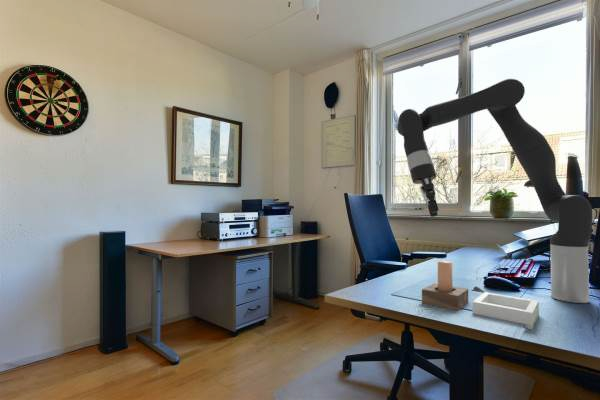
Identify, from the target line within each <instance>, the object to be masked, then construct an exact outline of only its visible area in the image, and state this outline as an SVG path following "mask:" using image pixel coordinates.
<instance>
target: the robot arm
mask: <svg viewBox="0 0 600 400" xmlns="http://www.w3.org/2000/svg"><path fill="white" fill-rule="evenodd" d="M525 90H526V88H525V86H524V84H523V82H521V81H520V80H518V79H516V78H506V79H503V80H501V81H500V80H499V82H497V83H494V84H493V85H491V86H488V87H486V88H484V89H482V90H478V91H477V92H474V93H470V94H468V95H464V96H461V97H458V98H454V99H450V100H447V101H443V102H440V103H437V104H434V105H430V106H427V107H426V108H425V109H424V110H423V111H422V112H421V113H419V112H418V111H417V110H415V109H414V108H413V109H412V108H407V109H405V110H402V112H401V113H400V115H399V116H398V120H397V124H396V125H397V126H396V129H397V130H396V131H397V133H398V134H399V135H400V136H402V137H403V150H404V154H405V156H406V159H407V160H406V161H407V165H408V166H407V167H408V170H409V173H410V178H411V180H412V181H411V182H412V183H413V184H414V185H420V193H421V194H422V197H423V200H424V202H425V205H426V206H427V208H428V212H429V215H430V217H431V218H434V217H437V216H438V215H439V214H438V212H439V207H438V203H437V200H436V198H437V195H436V189H435V185H434V183H432V181H434V180H435V179H437V172H436V169H435V165H434V163H433V159H432V156H431V154H430V152H429V148H428V145H427V142H426V140H425V135H424V133H425V131H427V130H429V129H432V128H433V127H437V126H441V125H445V124H448V123H451V122H453V121H454V122H456V120H460V119H462V118H465V117H468V116H470V115H472V114H474V113H478V112H481V111H485V110H487V111H488V112H489V115H491V117H492V118H493V119H494V120H495V122H496V123H497V125H498V126H499V128H500V129H501V131H502V132H503V135H504V137H505V138H506V140H507V143H509V145H510V147H511V149H512V150H513V153H514V155H515V157H516V158H517V160H518V163H519V164H520V166H521V167H522V168H523V170H524V172H525V174H526V176H527V177H528V180H529V181H530V183H531V185H532V187H533V189H534V191H535V192H536V195H537V198H538V199H539V201H540V205H541V207H542V210H543V212H544V214H545V215H546V217H547V218H548V219H549V220H550V221H552V222H553V223H557V224H558V225H557V226H558V227H557V231H556V232H555V233H554V234H551V235H550V239H549V241H550V243H549V245H550V247H549V249H550V250H549V251H550V297H551V298H553V299H556V300H559V301H563V302H568V303H573V304H574V303H576V304H587V303H589V302H590V285H589V284H590V281H589V280H590V278H589V277H590V276H589V274H590V273H589V271H590V270H589V267H590V266H589V241H590V239H591V237H592V231H593V207H592V205H591V203H590V201H589V200H588V198H586V197H584V196H582V195H578V194H572V195H571V194H566V193H565V191H564V189H563V188H562V186H561V185H560V182H559V181H558V177H557V172H556V171H557V170H556V169H557V167H556V166H557V163H556V156H555V152H554V151H553V149H552V147H551V145H550V144H549V142H548V140H547V139H546V138H545V136H544V135H543V134H542V133H541V132H540V131H539V130H538V129H536V128H535V127H534V126H532V125H531V124H529V123H528V122H527V121H526V120H525V119H524V118H523V116H522V115H521V113H520V111H519V109H518V107H517V106H516V105H517V104H518V103H520V102H521V101H522V100H523V98H524V96H525V93H526V92H525Z"/></svg>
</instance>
